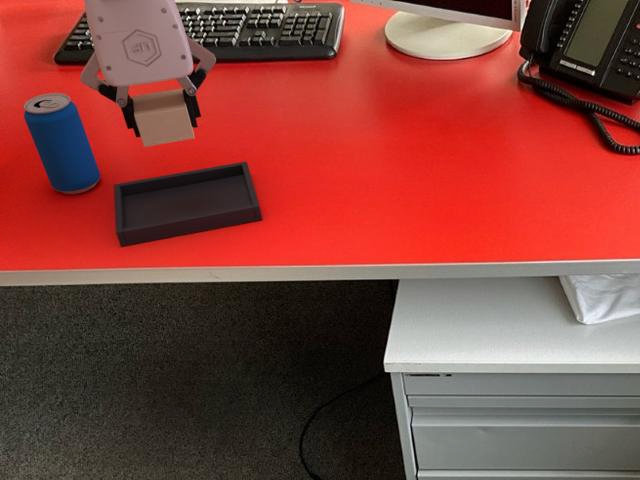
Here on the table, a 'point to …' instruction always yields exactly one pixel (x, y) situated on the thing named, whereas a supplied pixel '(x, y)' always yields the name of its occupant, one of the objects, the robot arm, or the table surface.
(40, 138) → the beverage can
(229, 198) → the tray
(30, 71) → the table surface
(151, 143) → the pad
